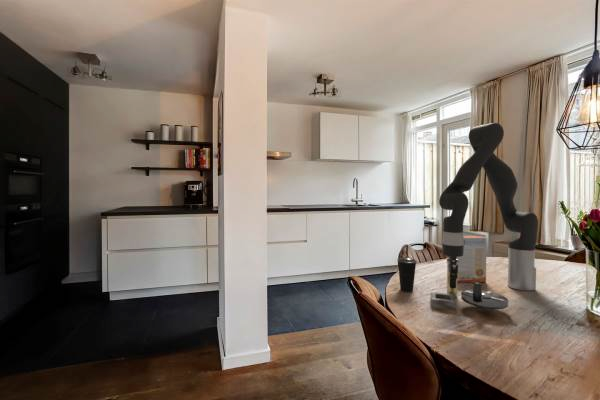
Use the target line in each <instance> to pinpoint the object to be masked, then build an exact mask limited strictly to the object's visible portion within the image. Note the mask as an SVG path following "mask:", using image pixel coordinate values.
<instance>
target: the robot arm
mask: <svg viewBox="0 0 600 400" xmlns="http://www.w3.org/2000/svg"><path fill="white" fill-rule="evenodd" d="M504 135H505V131H504V128H503V126H502V125H501V124H500V123H498V122H491V123H485V124H481V125H477V126H474V127H472V128H471V129H470V130H469V132H468V140H469V143H470V146H471V147H472V150H473V151H474V153H473V154H472V155H470V157H469V158H467V160H465V161H464V163H463V164H461V166H460V167H459V168H458V171H457V172H456V175H455V176H454V178H453V180H452V182H451V183H450V184H448V186H447V187H446V188H445V189H444V190H443V191H442V192H441V194H440V196H439V202H438V203H439V207H440V208H441V209H443V210H445V211H451V214H450V215H448V216H445V217H444V218H443V221H442V237H441V239H442V240H441V241H442V243H441V253H442V255H443V256H447V258H446V269H447V268H448V272H449V278H450V288H456V279H457V278H458V276H457V273H458V265H459V261H458V259H457V257H461V256H463V255H464V236H465V235H464V221H465V218H466V215H467V211H468V209H469V204H470V203H469V198H468V195H466V194H465V193H466V192H468V191H470V190H471V189H472V187H473V186H474V183H475V181H476V179H477V178H478V175H479V173H480V172H481V170H482V169H483V170H484V173H485V175H486V177H487V181H488V183H489V186H490V188H491V189H492V192H493V193H494V197H495V199H496V202H497V203H498V207H499V210H500V213H501V214H500V215H501V217H502V221H503V224H504V226H505V228H506V229H507V231H510V232H513V233H519V238H517V239H512V240H508V241H509V242H508V249H507V250H508V255H507V256H508V257H507V258H508V259H507V261H508V263H507V287H509V288H512V289H514V290H517V291H527V292H529V291H537V268H536V267H535V262H536V261H535V259H536V257H535V255H536V245H537V241H538V232H539V231H538V230H539V219H538V216H537V215H536V214H535V213H534V212H530V211H518V210H517V209H516V207H515V203H514V198H515V195H516V192H517V189H518V181H517V178H516V176H515V173H514V171H513V170H512V168H511V167H510V166H509V165H508V164H507V163H506V162H504V161H503V160H502V159H501V158H499V156H497V155H496V154H495V151H496V150H497V148H498V147H499V145H500V144H501V143H502V141H503V139H504ZM452 273H454V274H455V275H452Z"/></svg>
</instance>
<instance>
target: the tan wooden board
mask: <svg viewBox="0 0 600 400" xmlns="http://www.w3.org/2000/svg"><path fill="white" fill-rule="evenodd" d="M430 307H431V309H430V310H431V313H437V314H445V315H452V316H461V317H467V318H468V317H469V318H473V319H474V318H475V319H482V320H489V321H495V322H496V321H498V322H504V323H511V321H510V319H509V318H508V316H507V315H506V313H505V311H504V310H503V309H487V308H481V307H477V306H474V305H471V304H468V303H466V302H464V301H463V300H462V299H461V300H458V299H456V298H455V296H454V294H447V293H444V292H434V291H430Z"/></svg>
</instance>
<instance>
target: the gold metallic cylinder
mask: <svg viewBox="0 0 600 400" xmlns="http://www.w3.org/2000/svg"><path fill="white" fill-rule="evenodd" d="M446 269H447V270H446V272H447V273H446V294H454V296H455V299H456V298H457V297H458V282H457V279H456V288H450V278H449V272H448V268H447V267H446ZM452 275H455V274H454V273H452Z"/></svg>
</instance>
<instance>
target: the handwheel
mask: <svg viewBox="0 0 600 400" xmlns="http://www.w3.org/2000/svg"><path fill="white" fill-rule="evenodd" d="M482 283H483V282H472V289H465V290H463V291H461V293H460V294H461V295H460V297H461V298H460V299H461V301H464V302H466V303H468V304H471V305H474V306H477V307H481V308H487V309H502V310H503V309H507V308H509V298H507V297H506V296H505V295H501V294H499V293H496V292H493V291H490V290H488V291H487V290H483V284H482Z"/></svg>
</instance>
